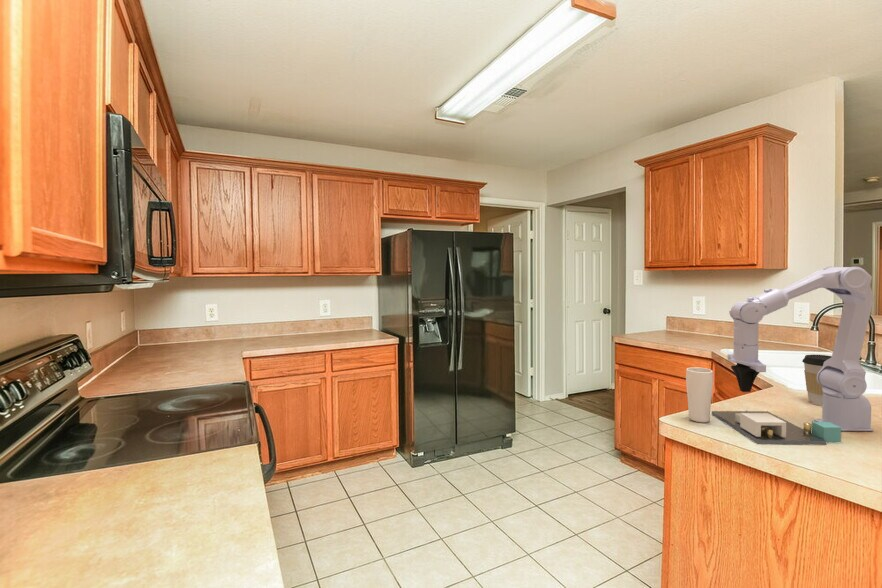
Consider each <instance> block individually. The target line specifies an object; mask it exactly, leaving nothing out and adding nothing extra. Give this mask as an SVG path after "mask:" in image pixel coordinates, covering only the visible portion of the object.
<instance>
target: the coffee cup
mask: <svg viewBox="0 0 882 588" xmlns="http://www.w3.org/2000/svg"><path fill="white" fill-rule="evenodd" d="M831 357H832V355H825V354H805V355H804V358H803V359H802V361H801V362H802V363H803V364H804V365H803V366H804V380H805V386H806V387H805V388H806V391H807V397H808V398H807V399H808V403H809V404H812V405H815V406H819V407H820V406H821V407H823V390H822V386H821V385H820V384H819V383H818V382H817V374H818V372H819V371H820V370H821V369H822V367H823V364H824V362H825V361H826V360H828V359H830V358H831Z"/></svg>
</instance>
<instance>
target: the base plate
mask: <svg viewBox="0 0 882 588" xmlns="http://www.w3.org/2000/svg"><path fill="white" fill-rule="evenodd" d="M735 413H769V414H771V415H772V416H774V417H776V418H778V419H780V420H782V421H784V422H786V437H781V436H779V435H777V434H775V433H774V432H773V429H767V428H765V425H761V437H756V436H755V435H753V434H751V433H750V432H748V431H746V430H745V429H743V428H742V427H740V423H739V422H737V421H736V420H735ZM711 415H712V416H713V417H715V418H717V419H718V420H720V421H721V422H723V423H724V424H725V425H728V426H729V427H731V428H732V429H734V430H736V431H737V432H739V433H740V434H741V435H742V436H745V437H746V438H747V439H750V440H751V441H752V442H754V443H756V444H757V445H803V444H826V445H827V443H826V440H824V439H822V438H820V437H818V436H816V435H814V434H812V423H811V422H803V428H802V427H799V426H798V425H796V424H793V423H792V422H790V421H787V419H786V420H785V419H784V418H782V417H780V416H778V415H776V414H774V413H772V412H770V411H768V410H767V411H764V410H763V411H761V410H760V411H759V410H757V411H755V410H754V411H753V410H751V411H750V410H748V411H747V410H745V411H744V410H742V411H741V410H739V411H738V410H735V411H734V410H733V411H732V410H712V411H711Z"/></svg>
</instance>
